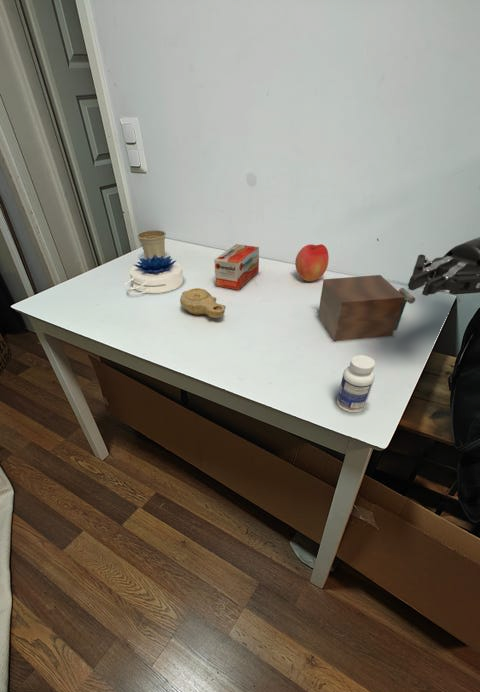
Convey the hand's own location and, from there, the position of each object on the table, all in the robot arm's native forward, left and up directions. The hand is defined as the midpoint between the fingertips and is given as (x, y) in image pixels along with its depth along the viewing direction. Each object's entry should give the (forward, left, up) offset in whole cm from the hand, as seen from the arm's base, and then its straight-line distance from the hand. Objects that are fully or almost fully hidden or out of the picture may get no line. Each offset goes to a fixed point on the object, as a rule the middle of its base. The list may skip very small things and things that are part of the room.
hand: (418, 286), depth 55 cm
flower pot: (+70, -58, -20) cm, 93 cm away
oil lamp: (+44, -24, -20) cm, 54 cm away
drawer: (+1, -24, -19) cm, 31 cm away
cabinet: (+5, -23, -20) cm, 31 cm away
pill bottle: (+7, +7, -20) cm, 23 cm away
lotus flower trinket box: (+64, -39, -20) cm, 77 cm away
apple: (+17, -50, -20) cm, 56 cm away
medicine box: (+39, -47, -20) cm, 64 cm away
